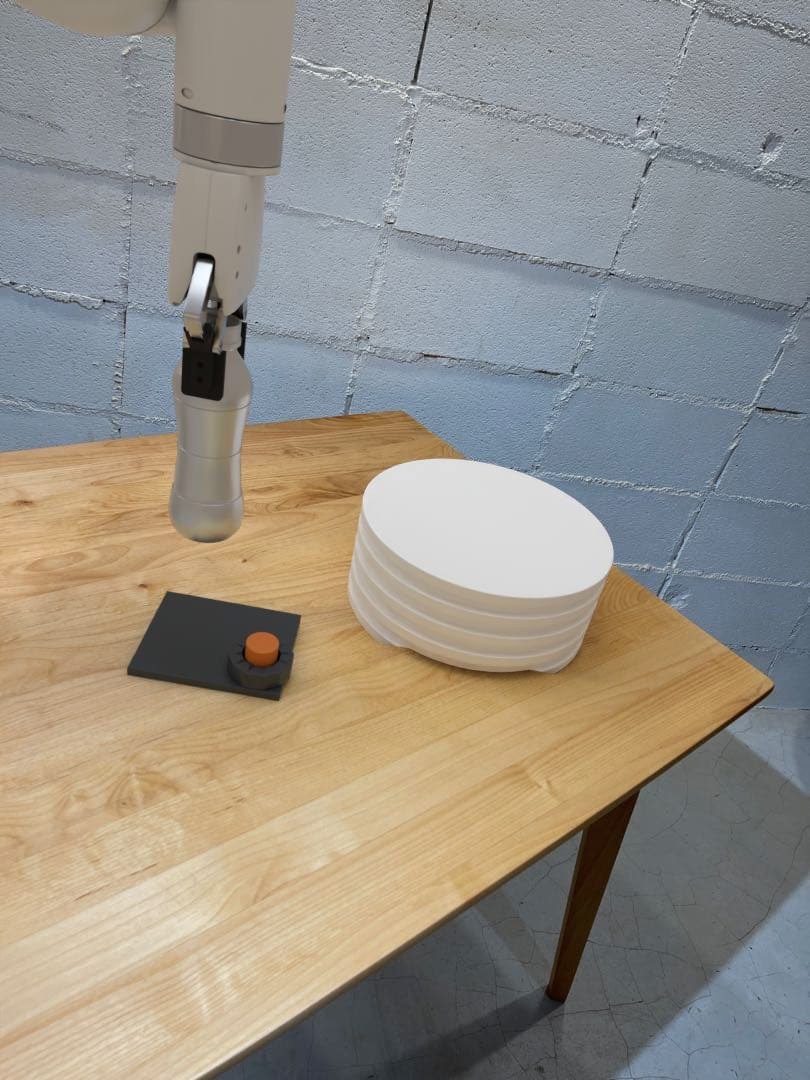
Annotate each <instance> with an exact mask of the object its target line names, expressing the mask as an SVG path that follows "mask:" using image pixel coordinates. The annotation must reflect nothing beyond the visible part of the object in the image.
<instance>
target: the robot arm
mask: <svg viewBox="0 0 810 1080" xmlns="http://www.w3.org/2000/svg"><path fill="white" fill-rule="evenodd" d="M8 1H10V2H11V3H13V4H15V5H17V6H19V7H20V8H23V9H25V10H27V11H28V12H31V13H32V14H34V15H35V16H38V17H40V18H43V19H44V20H46V21H49V22H51V23H53V24H55V25H57V26H59V27H61V28H64V29H66V30H69V31H72V32H75V33H77V34H80V35H86V36H91V37H114V36H123V37H125V36H128V37H131V36H133V37H135V36H158V37H159V36H161V37H171V38H172V37H173V38H175V43H174V44H175V45H174V76H173V77H174V78H173V80H174V81H173V84H174V85H173V101H174V102H173V109H172V111H173V112H172V113H173V114H172V115H173V116H172V119H173V120H172V148H171V149H172V153H171V155H172V157H174V158H175V159H176V160H179V161H180V163H179V168H178V173H177V178H176V184H175V192H174V200H173V209H172V218H171V219H172V220H171V228H170V229H171V230H170V244H169V254H168V255H169V257H168V268H167V269H168V271H167V285H166V298H167V301H168V303H169V304H170V305H171V306H172V307H178V306H180V305H181V304H182V303H183V302H184V301H185V304H184V307H183V312H182V321H183V325H184V326H183V328H182V331H183V336H182V351H181V353H182V354H181V358H182V376H181V392H182V393H183V394H184V395H188V396H193V397H198V398H203V399H208V400H213V401H220V400H221V399H222V397H223V395H224V382H225V368H226V353H227V351H224V350H222V348H223V341H224V335H225V328H226V322H227V316H228V315H233V316H235V317H237V318H239V319H240V320H241V324H242V325H241V335H240V336H241V345H240V347H238V348H237V351H238V353H239V354H240V356H241V357H242V359H243V360H244V361H245V355H246V354H245V353H246V341H247V330H248V322H246V320H247V316H248V297H249V295H250V294H251V293H252V291H253V290H254V288H255V286H256V283H257V280H258V276H259V268H260V262H261V261H260V259H261V251H262V239H263V230H264V229H263V228H264V213H265V199H266V198H265V196H266V177H271V176H277V175H280V174H281V170H282V160H283V159H282V157H283V148H284V137H285V128H286V127H285V126H286V118H287V107H288V93H289V83H290V74H291V63H292V54H293V44H294V43H293V42H294V34H295V33H294V31H295V21H296V12H297V11H296V10H297V1H298V0H8ZM209 301H210V306H211V307H210V306H209ZM206 316H207V317H212V318H217V319H216V326H215V332H213V331H214V330H213V328H212V325H211V324H210V323H206V321H207V317H206Z"/></svg>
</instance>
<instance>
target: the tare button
mask: <svg viewBox="0 0 810 1080" xmlns="http://www.w3.org/2000/svg"><path fill="white" fill-rule="evenodd" d="M278 649H279V641H278V639H277V638H276V637H275V636H274V635H272V634H270V633H266V632H257V633H254V634H252V635H250V636H249V637H248V638H247V641H246V649H245V658H246V660H247V662H248V663H250V664H251V665H253V666H259V667H266V666H271V665H272V664H274V663H275V662H276V660H277V657H278Z"/></svg>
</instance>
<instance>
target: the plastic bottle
mask: <svg viewBox="0 0 810 1080" xmlns="http://www.w3.org/2000/svg"><path fill="white" fill-rule="evenodd" d="M206 317H207V316H206ZM216 319H217V318H212V317H207V321H206V323H210V324H211V325H212V328H213V330H214V331H213V332H215V326H216ZM241 322H242V320H240V319H239V318H237V317H235V316H233V315H228V316H227V322H226V328H225V335H224V341H223V348H222V350H224V351H227V353H226V368H225V382H224V395H223V397H222V399H221V400H220V401H213V400H208V399H203V398H198V397H193V396H188V395H184V394H183V393H182V392H181V376H182V357H181V358H180V360H179V361H178V362H177V363H176V364H175V366H174V369H173V372H172V374H171V390H172V399H173V405H174V414H175V421H176V422H175V423H176V425H175V426H176V438H177V440H176V459H175V467H174V475H173V482H172V483H171V488H170V492H169V498H168V504H167V509H168V510H167V511H168V515H169V521H170V524H171V525H172V527H173V528H174V529H175V531H176V532H177V533H178V534H179V535H180V536H181V537H183V538H185V539H186V540H189V541H192V542H197V543H203V544H214V543H222V542H224V541H227V540H229V539H230V538H232V537H234V535H235V534H236V533H237V532H238V531H239V530H240V528H241V526H242V523H243V520H244V516H245V499H244V491H243V487H242V454H243V453H242V452H243V444H244V436H245V430H246V424H247V420H248V417H249V411H250V408H251V404H252V399H253V393H254V381H253V377H252V374H251V373H252V372H251V371H250V369H249V368H248V366H247V363H246V362H245V359H244V360H243V359H242V357H241V356H240V354H239V353H238V351H237V348H238V347H240V345H241V336H240V335H241V325H242V324H241Z"/></svg>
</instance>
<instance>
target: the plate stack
mask: <svg viewBox="0 0 810 1080" xmlns="http://www.w3.org/2000/svg"><path fill="white" fill-rule="evenodd" d="M360 506H361V507H360V513H359V517H358V523H357V532H356V535H355V539H354V544H353V552H352V556H351V562H350V568H349V573H348V579H347V586H346V589H347V590H346V592H347V598H348V602H349V605H350V607H351V610H352V612H353V614H354V616H355V618H356V620H357V621H358V622H359V624H360V625H361V627H362V628H363V629H364V630H365V632H367V633H368V634H369V636H370V637H372V639H374V641H376V642H377V643H379V644H383V645H390V646H394V647H395V646H396V647H401V648H406V649H410V650H411V651H413V652H416V653H418V654H420V655H423V656H425V657H427V658H429V659H432V660H435V661H437V662H440V663H443V664H447V665H450V666H453V667H458V668H461V669H467V670H473V671H478V672H479V671H480V672H488V673H489V672H490V673H507V672H508V673H510V672H521V671H528V670H529V671H534V672H539V673H547V674H552V675H555V674H557V673H558V672H560V671H562V670H563V669H564V668H565V667H567V666H568V665H570V663H571V662H572V661H573V660H574V659H575V657H576V656H577V655H578V653H579V651H580V648H581V646H582V644H583V641H584V638H585V635H586V632H587V631H588V628H589V626H590V623H591V621H592V617H593V615H594V612H595V610H596V607H597V605H598V602H599V598H600V596H601V594H602V592H603V590H604V587H605V584H606V580H607V578H608V576H609V574H610V571H611V569H612V566H613V563H614V555H615V553H614V552H615V551H614V546H613V542H612V540H611V537H610V535H609V533H608V531H607V529H606V528H605V526H604V525H603V524H602V523H601V521H600V520H599V518H597V517H596V515H594V513H592V512H591V511H590V510H589V508H587V507H586V506H585V505H583V504H582V503H581V502H579V500H577V499H575V498H574V497H572V496H571V495H569V494H567V493H566V492H564V491H562V490H561V489H559V488H557V487H556V486H554V485H552V484H550V483H548V482H545V481H543V480H541V479H539V478H537V477H534V476H532V475H529V474H526V473H523V472H521V471H518V470H514V469H511V468H508V467H504V466H500V465H497V464H493V463H488V462H483V461H482V462H481V461H476V460H469V459H462V458H461V459H459V458H425V459H418V460H412V461H406V462H402V463H399V464H396V465H394V466H391V467H389V468H387V469H385V470H383V471H381V472H380V473H379V474H376V475H375V477H373V478H372V479H371V481H370V482H369V483H368V484H367V486H366V488H365V490H364V492H363V496H362V500H361V505H360Z"/></svg>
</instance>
